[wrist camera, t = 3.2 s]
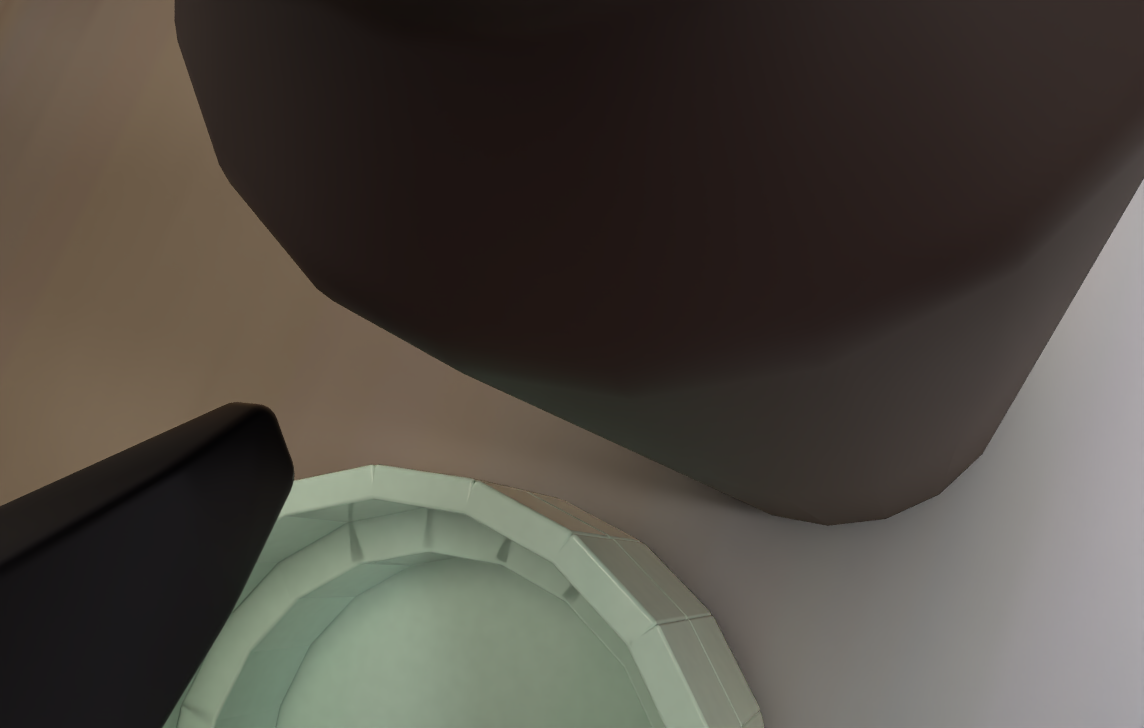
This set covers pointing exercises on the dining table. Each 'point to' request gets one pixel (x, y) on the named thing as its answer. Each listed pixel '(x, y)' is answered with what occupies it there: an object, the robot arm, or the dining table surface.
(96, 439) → the dining table surface
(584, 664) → the basin
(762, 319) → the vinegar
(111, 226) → the dining table surface
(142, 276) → the dining table surface
